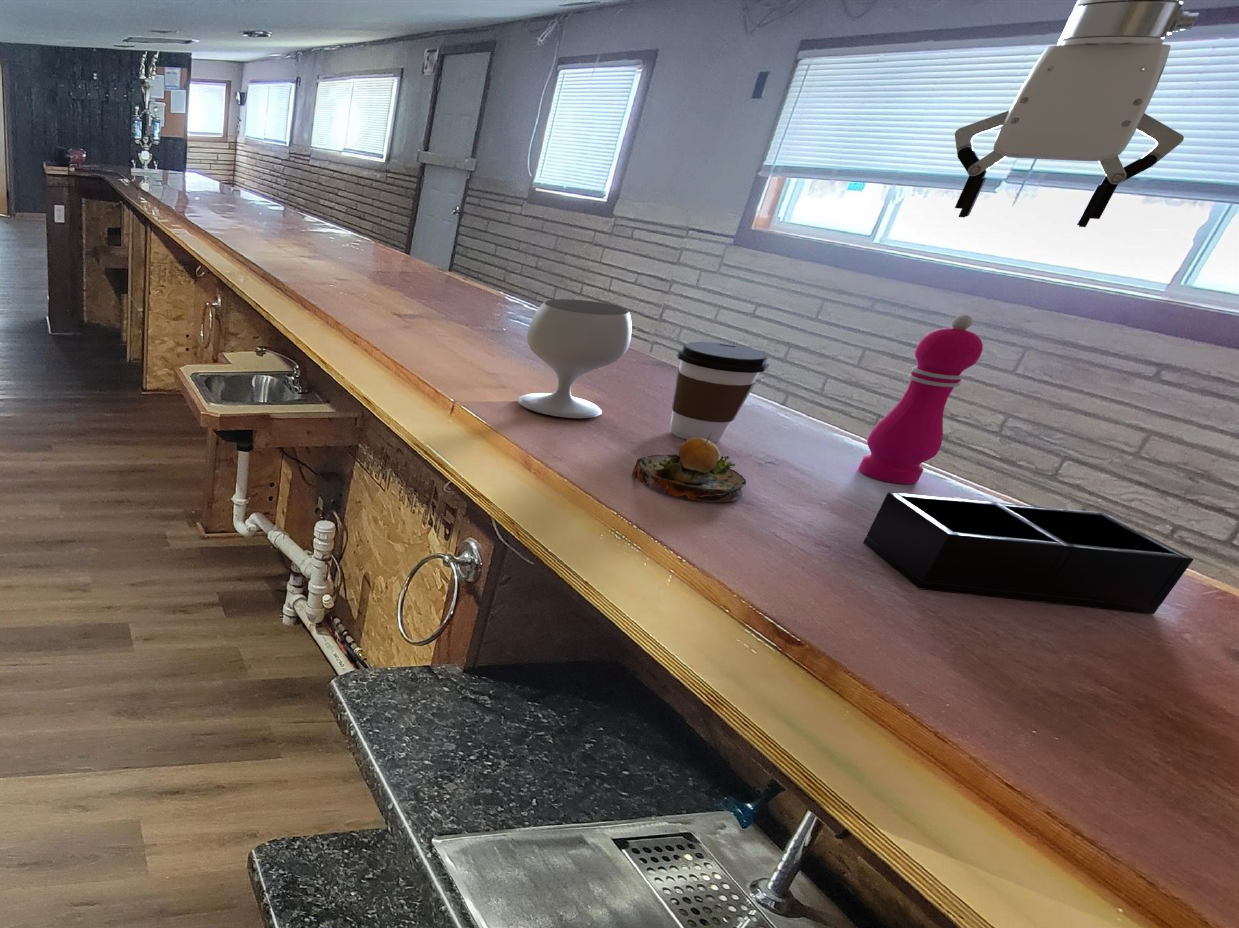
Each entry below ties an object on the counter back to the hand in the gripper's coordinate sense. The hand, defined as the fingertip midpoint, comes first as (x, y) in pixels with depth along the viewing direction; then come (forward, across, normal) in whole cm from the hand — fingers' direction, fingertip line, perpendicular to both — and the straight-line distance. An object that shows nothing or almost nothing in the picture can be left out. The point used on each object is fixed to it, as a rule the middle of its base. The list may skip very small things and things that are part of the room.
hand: (1020, 221), depth 89 cm
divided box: (+30, -12, +23) cm, 40 cm away
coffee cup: (+31, +23, -1) cm, 38 cm away
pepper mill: (+31, +1, -4) cm, 31 cm away
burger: (+31, +18, +21) cm, 41 cm away
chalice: (+31, +42, +2) cm, 52 cm away
